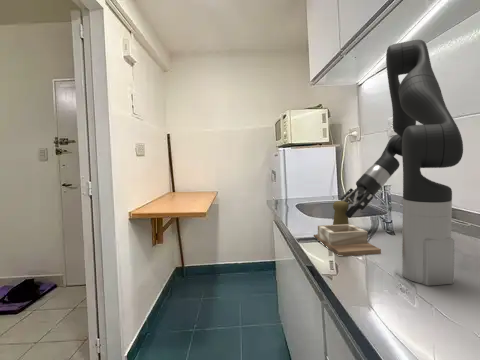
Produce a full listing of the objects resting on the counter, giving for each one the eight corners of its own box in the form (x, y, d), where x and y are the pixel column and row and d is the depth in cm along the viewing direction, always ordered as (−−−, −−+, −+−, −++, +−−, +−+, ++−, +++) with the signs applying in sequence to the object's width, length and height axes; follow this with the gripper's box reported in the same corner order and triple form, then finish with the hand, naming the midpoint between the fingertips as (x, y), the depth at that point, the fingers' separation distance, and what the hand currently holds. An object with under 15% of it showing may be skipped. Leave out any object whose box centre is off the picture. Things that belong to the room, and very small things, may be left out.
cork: (352, 234, 113) (352, 202, 112) (334, 234, 113) (334, 202, 113) (346, 230, 119) (346, 199, 118) (330, 230, 119) (329, 200, 119)
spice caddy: (381, 253, 91) (381, 236, 90) (339, 256, 89) (338, 239, 89) (348, 236, 110) (348, 222, 110) (313, 238, 109) (313, 224, 109)
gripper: (356, 171, 123) (326, 203, 122) (376, 174, 109) (343, 210, 108) (369, 185, 124) (340, 217, 123) (391, 189, 110) (358, 225, 109)
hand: (341, 213), depth 116 cm, fingers open, 8 cm apart
